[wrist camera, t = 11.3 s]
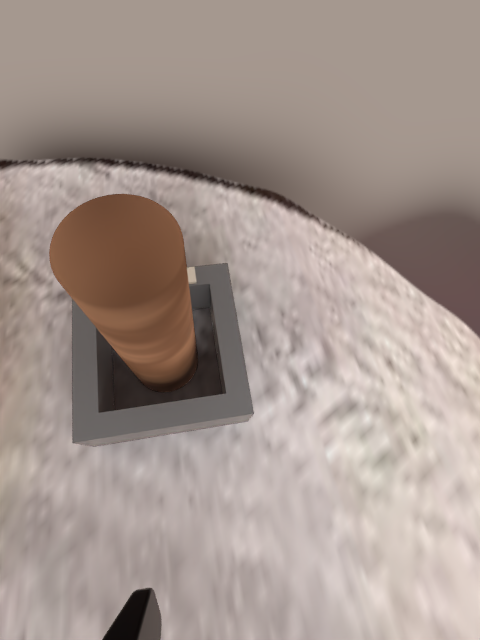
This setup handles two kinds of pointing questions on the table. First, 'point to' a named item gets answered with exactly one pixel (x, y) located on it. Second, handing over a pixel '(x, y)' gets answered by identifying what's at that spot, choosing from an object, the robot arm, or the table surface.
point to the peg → (131, 284)
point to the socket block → (165, 418)
